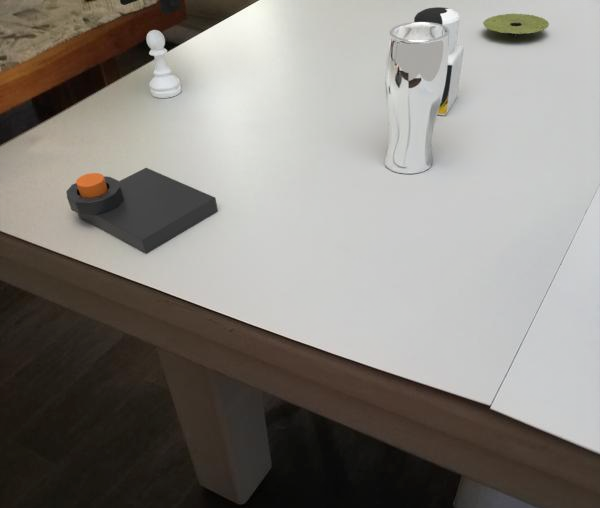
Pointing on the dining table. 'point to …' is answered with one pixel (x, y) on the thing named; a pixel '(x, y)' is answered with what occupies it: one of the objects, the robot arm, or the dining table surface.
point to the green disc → (516, 23)
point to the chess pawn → (161, 68)
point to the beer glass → (414, 92)
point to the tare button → (91, 185)
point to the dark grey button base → (144, 208)
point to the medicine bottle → (454, 55)
